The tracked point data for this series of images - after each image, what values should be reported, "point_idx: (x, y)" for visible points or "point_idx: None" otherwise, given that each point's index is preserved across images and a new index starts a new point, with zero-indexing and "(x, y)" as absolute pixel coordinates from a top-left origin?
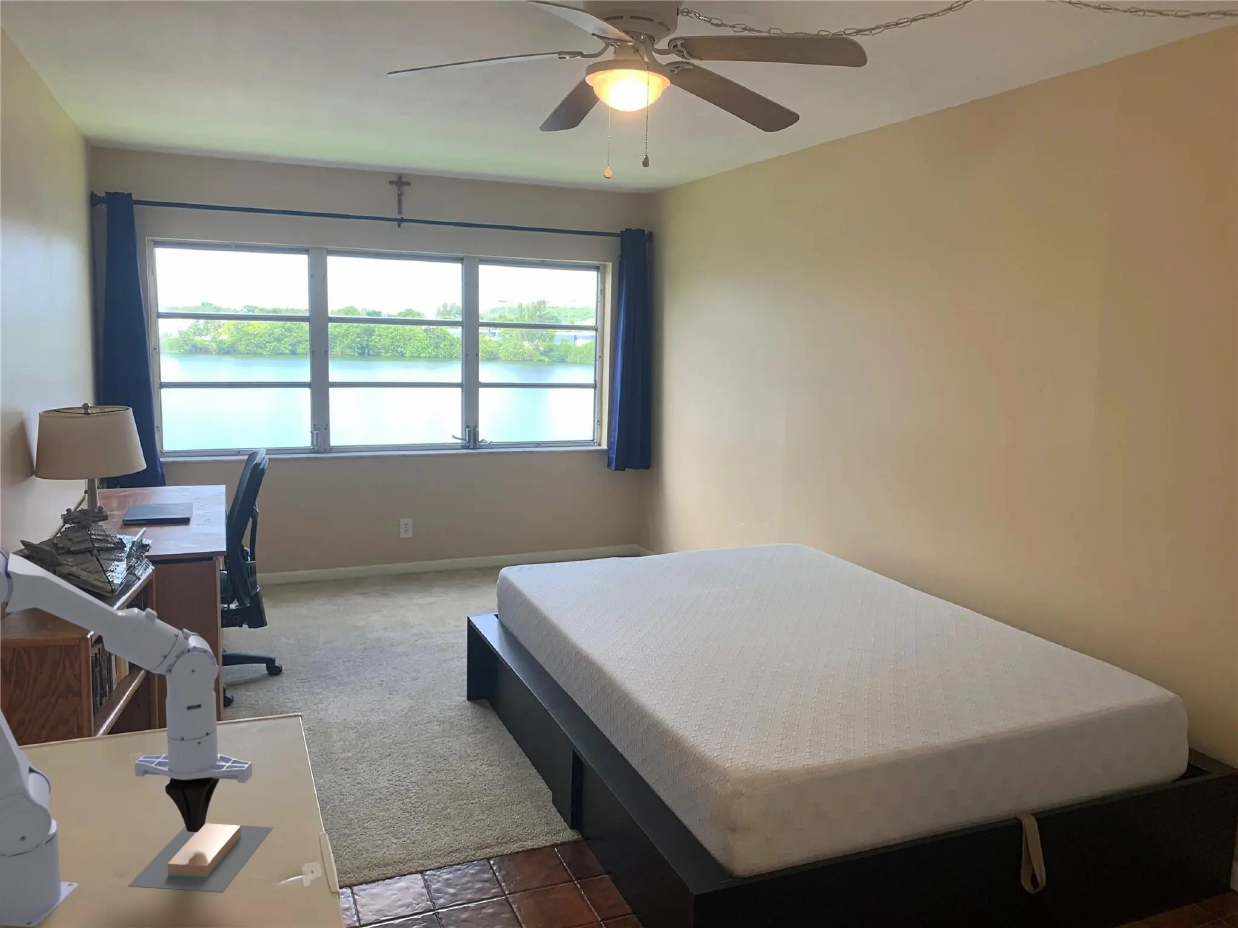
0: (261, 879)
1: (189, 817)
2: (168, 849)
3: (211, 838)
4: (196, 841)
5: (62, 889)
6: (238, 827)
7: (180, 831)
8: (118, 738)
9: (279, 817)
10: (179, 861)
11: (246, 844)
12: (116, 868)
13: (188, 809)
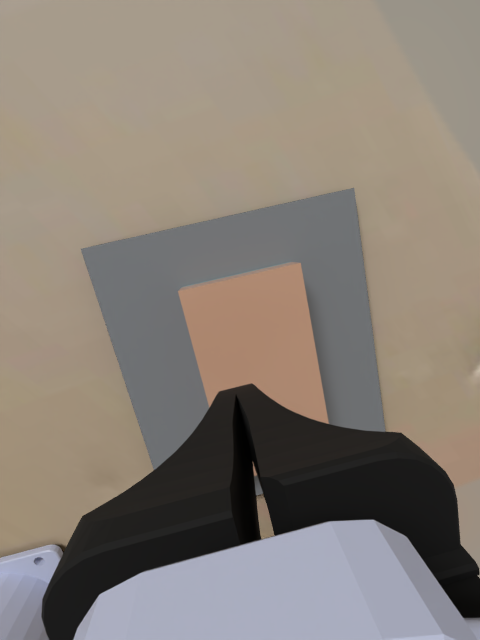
0: (430, 379)
1: (253, 486)
2: (142, 382)
3: (261, 353)
4: (228, 379)
5: (40, 576)
6: (301, 275)
7: (100, 300)
8: None
9: (322, 111)
10: (253, 464)
11: (329, 290)
12: (72, 464)
13: (256, 519)
